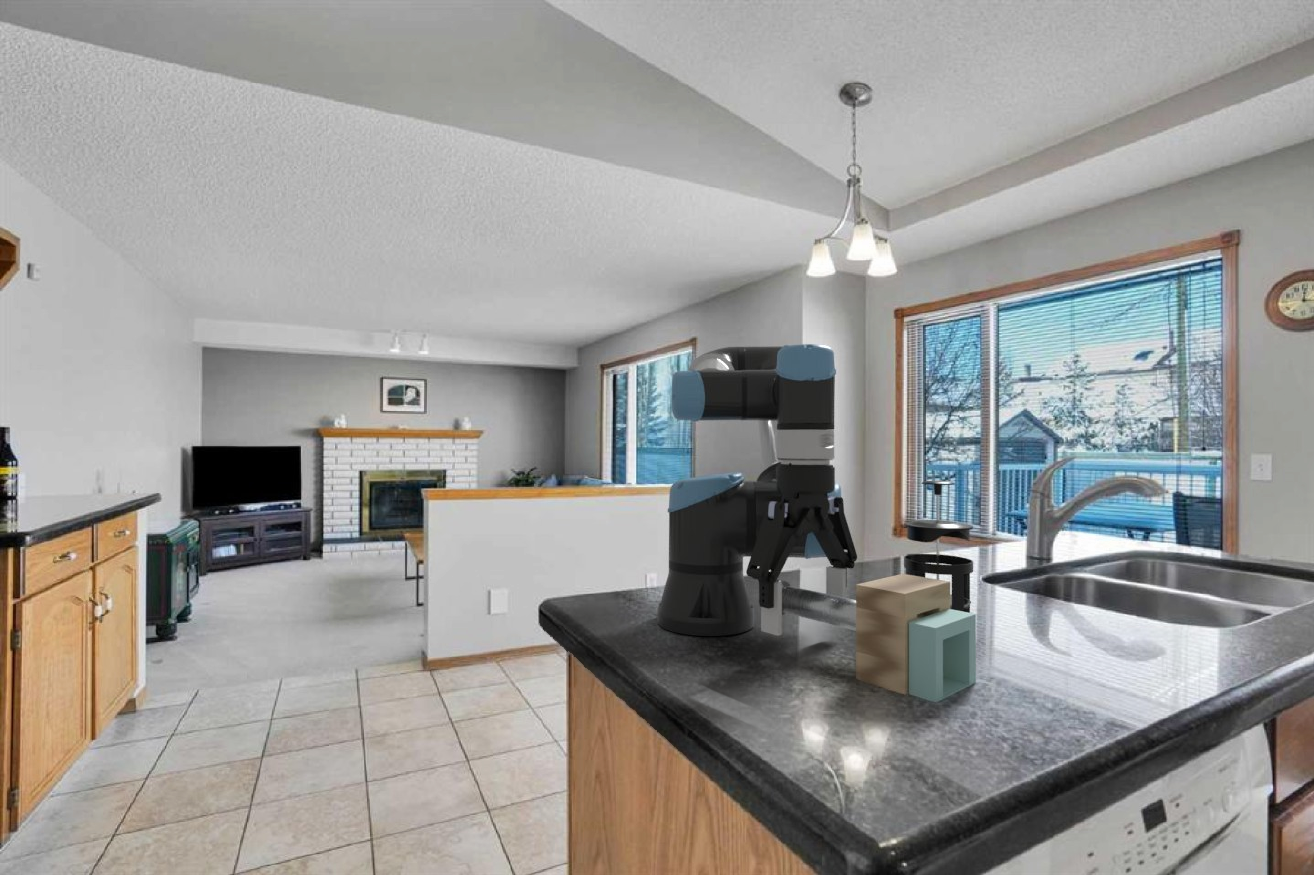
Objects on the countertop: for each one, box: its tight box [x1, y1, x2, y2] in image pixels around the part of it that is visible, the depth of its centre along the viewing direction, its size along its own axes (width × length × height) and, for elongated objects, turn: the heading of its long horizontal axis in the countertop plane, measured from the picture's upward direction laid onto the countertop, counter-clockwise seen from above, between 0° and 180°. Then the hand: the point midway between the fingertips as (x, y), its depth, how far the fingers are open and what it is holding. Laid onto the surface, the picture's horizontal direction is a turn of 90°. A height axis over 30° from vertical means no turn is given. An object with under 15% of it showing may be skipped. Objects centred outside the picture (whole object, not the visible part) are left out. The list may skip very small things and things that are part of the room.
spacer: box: [908, 609, 977, 703], centre depth 72 cm, size 3×9×9 cm, turn 130°
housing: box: [855, 573, 951, 696], centre depth 75 cm, size 6×10×12 cm, turn 130°
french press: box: [903, 480, 974, 613], centre depth 92 cm, size 12×9×23 cm
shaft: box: [776, 579, 926, 632], centre depth 82 cm, size 21×5×5 cm, turn 40°
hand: (805, 623), depth 86 cm, fingers open, 13 cm apart
